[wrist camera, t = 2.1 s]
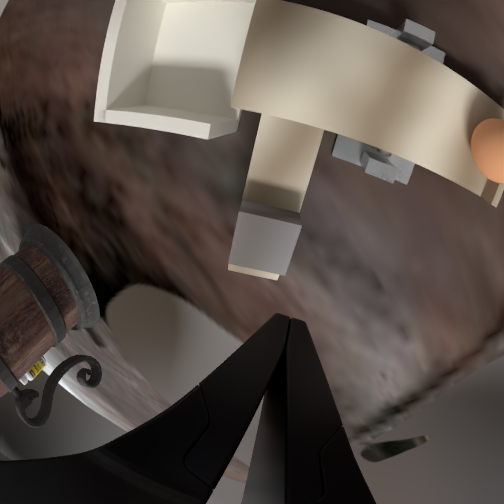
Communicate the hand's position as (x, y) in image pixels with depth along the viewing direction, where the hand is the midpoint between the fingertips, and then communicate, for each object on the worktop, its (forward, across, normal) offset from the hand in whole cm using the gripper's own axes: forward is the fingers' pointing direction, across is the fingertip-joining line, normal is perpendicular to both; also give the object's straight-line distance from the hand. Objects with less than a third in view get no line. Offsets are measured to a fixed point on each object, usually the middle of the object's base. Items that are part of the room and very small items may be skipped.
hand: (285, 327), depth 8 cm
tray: (+12, +10, -8) cm, 17 cm away
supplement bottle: (+14, +50, +56) cm, 77 cm away
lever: (+10, -3, -3) cm, 11 cm away
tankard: (+13, +26, +22) cm, 37 cm away
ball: (+8, -9, -8) cm, 14 cm away
